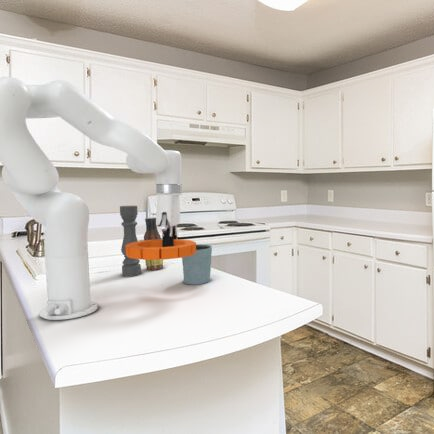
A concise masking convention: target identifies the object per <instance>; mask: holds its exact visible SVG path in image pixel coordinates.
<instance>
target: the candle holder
mask: <svg viewBox="0 0 434 434" xmlns="http://www.w3.org/2000/svg"><path fill="white" fill-rule="evenodd" d="M119 215H120V218H121V219H122V222H121V226H122V227H123V239H122V243H121V247H120V248H121V249H120V251H121V254H122V255H123V257H124V259H123V260H122V265H121V275H122V277H126V278H127V277H128V278H129V277H130V278H131V277H137V276H140V275H142V265H141V263H140V259H133V258H128V257H127V256H126V246H125V245H126V244H129V243H132V242H137V241H139V240H138V236H137V231H136V229H137V228H136V226H137V225H138V222H137V221H136V220H137V217H138V215H139V214H138V205H120V206H119Z"/></svg>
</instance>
